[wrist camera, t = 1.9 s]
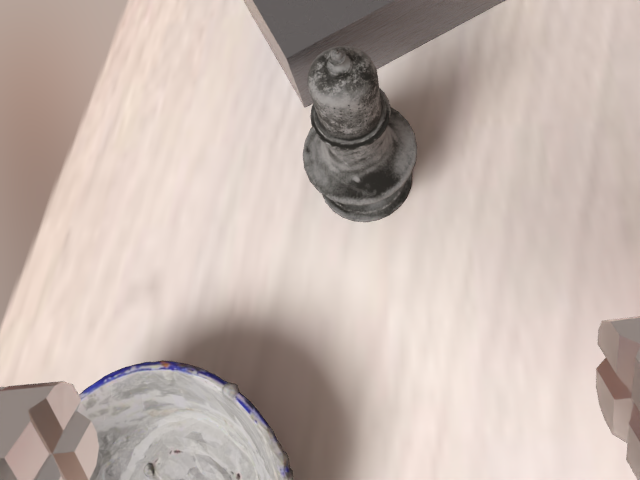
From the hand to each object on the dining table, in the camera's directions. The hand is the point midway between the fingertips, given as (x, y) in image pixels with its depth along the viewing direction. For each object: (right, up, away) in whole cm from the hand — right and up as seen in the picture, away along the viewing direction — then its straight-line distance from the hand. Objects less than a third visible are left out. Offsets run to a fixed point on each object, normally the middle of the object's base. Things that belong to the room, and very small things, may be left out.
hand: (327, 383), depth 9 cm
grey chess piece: (+3, +6, +24) cm, 24 cm away
